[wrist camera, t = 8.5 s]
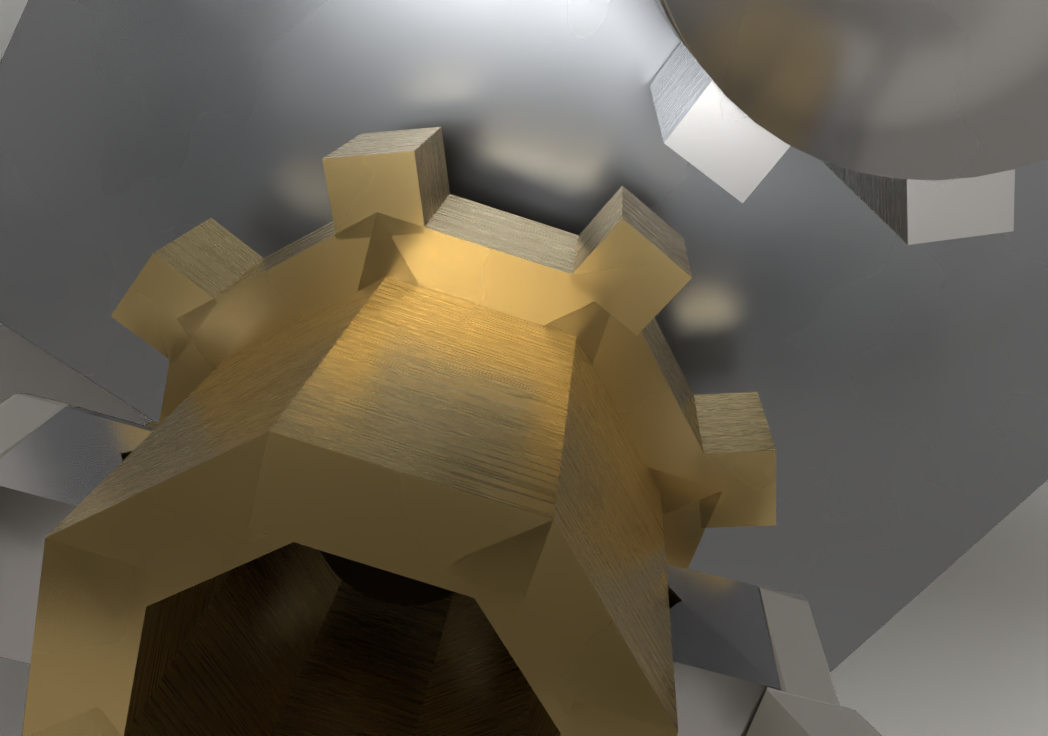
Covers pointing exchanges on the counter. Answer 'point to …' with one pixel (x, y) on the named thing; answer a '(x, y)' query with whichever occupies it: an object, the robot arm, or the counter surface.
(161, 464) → the gear
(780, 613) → the robot arm
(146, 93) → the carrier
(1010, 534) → the counter surface
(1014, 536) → the counter surface
